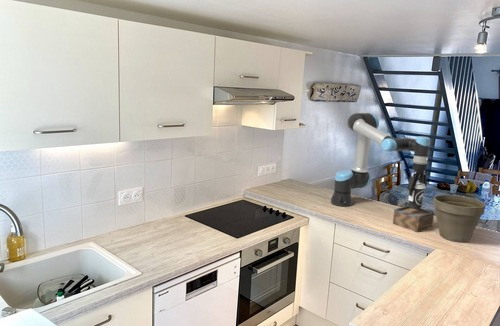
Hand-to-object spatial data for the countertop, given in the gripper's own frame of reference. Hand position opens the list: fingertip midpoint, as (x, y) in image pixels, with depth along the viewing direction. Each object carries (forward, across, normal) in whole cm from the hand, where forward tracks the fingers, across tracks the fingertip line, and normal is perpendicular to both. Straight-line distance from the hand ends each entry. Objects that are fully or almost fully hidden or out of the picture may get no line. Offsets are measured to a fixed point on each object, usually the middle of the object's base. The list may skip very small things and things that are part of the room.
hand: (415, 199), depth 215 cm
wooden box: (+16, 0, 0) cm, 16 cm away
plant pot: (+17, +3, -23) cm, 28 cm away
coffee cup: (+5, 0, 0) cm, 5 cm away
